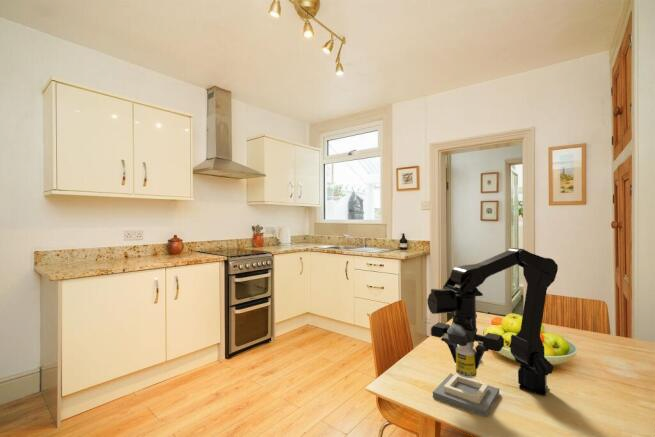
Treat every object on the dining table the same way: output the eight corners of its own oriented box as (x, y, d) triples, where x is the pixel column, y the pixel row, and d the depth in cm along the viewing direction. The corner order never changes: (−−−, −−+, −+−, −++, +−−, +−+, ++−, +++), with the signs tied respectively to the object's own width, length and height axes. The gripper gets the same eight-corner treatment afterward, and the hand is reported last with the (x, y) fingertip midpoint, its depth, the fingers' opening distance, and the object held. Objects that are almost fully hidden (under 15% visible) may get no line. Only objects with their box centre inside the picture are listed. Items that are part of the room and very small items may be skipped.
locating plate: (499, 393, 89) (499, 383, 89) (486, 417, 79) (485, 405, 79) (450, 378, 98) (450, 368, 98) (432, 397, 88) (432, 386, 88)
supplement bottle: (455, 376, 87) (454, 342, 87) (457, 368, 92) (456, 335, 92) (476, 380, 85) (475, 345, 85) (477, 372, 90) (476, 338, 90)
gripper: (422, 311, 89) (423, 365, 89) (493, 325, 77) (494, 388, 76) (437, 303, 97) (438, 353, 97) (503, 314, 85) (505, 371, 85)
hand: (466, 365), depth 89 cm, fingers closed on supplement bottle, 5 cm apart
